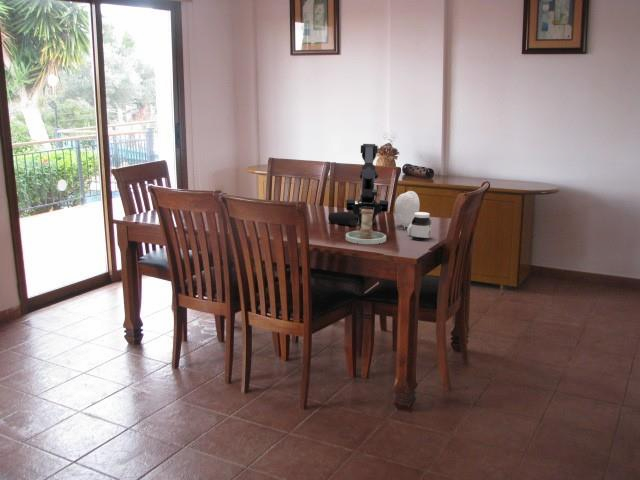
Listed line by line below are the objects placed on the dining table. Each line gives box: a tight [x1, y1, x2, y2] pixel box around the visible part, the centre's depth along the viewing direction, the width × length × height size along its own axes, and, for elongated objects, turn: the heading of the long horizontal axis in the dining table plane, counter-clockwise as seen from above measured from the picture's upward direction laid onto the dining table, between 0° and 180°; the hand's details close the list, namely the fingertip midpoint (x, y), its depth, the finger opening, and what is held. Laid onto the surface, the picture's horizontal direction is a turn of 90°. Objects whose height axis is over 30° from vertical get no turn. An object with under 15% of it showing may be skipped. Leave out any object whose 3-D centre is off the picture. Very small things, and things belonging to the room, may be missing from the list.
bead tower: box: [359, 208, 374, 239], centre depth 316 cm, size 6×6×13 cm
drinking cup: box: [328, 211, 362, 227], centre depth 345 cm, size 8×8×20 cm
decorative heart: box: [394, 190, 421, 230], centre depth 342 cm, size 18×11×17 cm, turn 153°
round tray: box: [345, 230, 387, 245], centre depth 317 cm, size 18×18×2 cm
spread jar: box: [406, 211, 432, 241], centre depth 322 cm, size 12×11×12 cm
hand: (366, 221), depth 314 cm, fingers open, 6 cm apart
